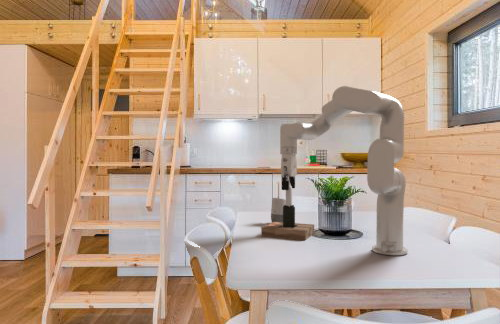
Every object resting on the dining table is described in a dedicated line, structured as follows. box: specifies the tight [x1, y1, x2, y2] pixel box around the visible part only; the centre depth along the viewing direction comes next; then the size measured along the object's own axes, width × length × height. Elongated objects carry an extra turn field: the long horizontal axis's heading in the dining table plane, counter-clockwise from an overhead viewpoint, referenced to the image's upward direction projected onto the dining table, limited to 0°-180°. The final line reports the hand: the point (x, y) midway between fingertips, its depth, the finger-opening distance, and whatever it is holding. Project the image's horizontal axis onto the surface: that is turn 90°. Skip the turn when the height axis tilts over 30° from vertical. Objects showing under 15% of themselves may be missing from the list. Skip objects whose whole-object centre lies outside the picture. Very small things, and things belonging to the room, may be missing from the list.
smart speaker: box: [270, 197, 286, 223], centre depth 202 cm, size 10×9×14 cm
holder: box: [260, 221, 315, 241], centre depth 176 cm, size 16×20×4 cm
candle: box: [283, 180, 296, 228], centre depth 175 cm, size 5×5×25 cm
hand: (288, 189), depth 175 cm, fingers open, 9 cm apart
